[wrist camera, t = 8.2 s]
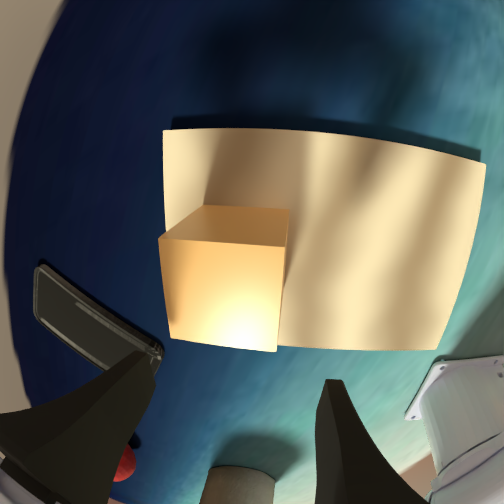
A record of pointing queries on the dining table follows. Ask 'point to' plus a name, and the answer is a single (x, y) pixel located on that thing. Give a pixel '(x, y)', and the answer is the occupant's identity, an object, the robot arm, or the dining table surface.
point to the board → (342, 226)
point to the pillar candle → (237, 486)
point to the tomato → (126, 464)
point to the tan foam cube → (226, 275)
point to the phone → (87, 323)
